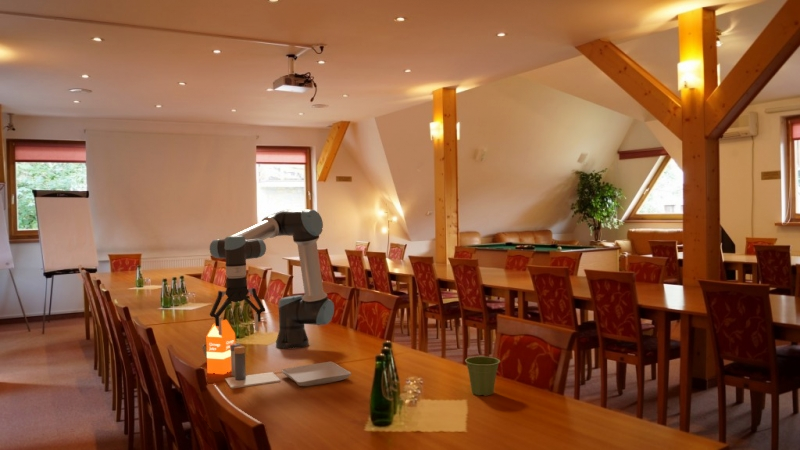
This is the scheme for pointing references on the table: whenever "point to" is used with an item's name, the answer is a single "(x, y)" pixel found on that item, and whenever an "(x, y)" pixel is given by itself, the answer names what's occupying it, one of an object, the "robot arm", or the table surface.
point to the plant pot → (482, 374)
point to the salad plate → (316, 373)
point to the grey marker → (233, 358)
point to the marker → (240, 363)
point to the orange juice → (219, 348)
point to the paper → (253, 380)
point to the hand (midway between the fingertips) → (238, 332)
